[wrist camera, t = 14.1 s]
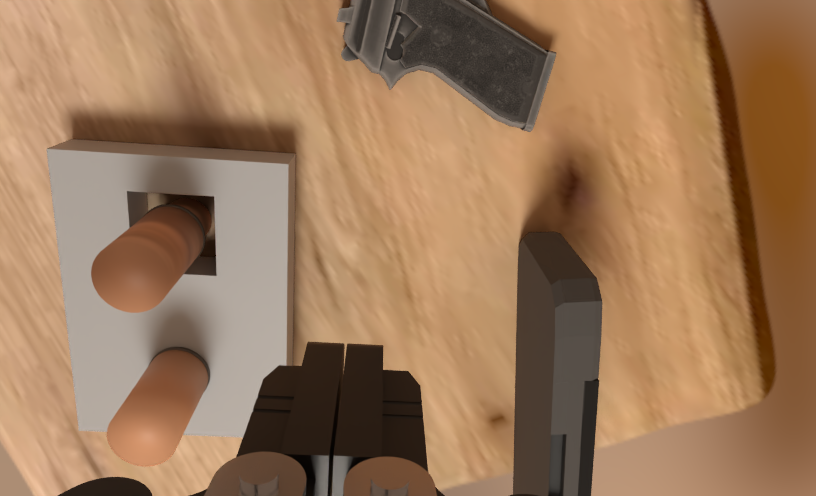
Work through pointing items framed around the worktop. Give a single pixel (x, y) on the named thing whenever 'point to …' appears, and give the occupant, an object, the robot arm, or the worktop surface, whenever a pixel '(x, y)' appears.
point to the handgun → (452, 52)
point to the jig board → (175, 292)
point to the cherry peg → (151, 256)
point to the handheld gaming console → (555, 368)
